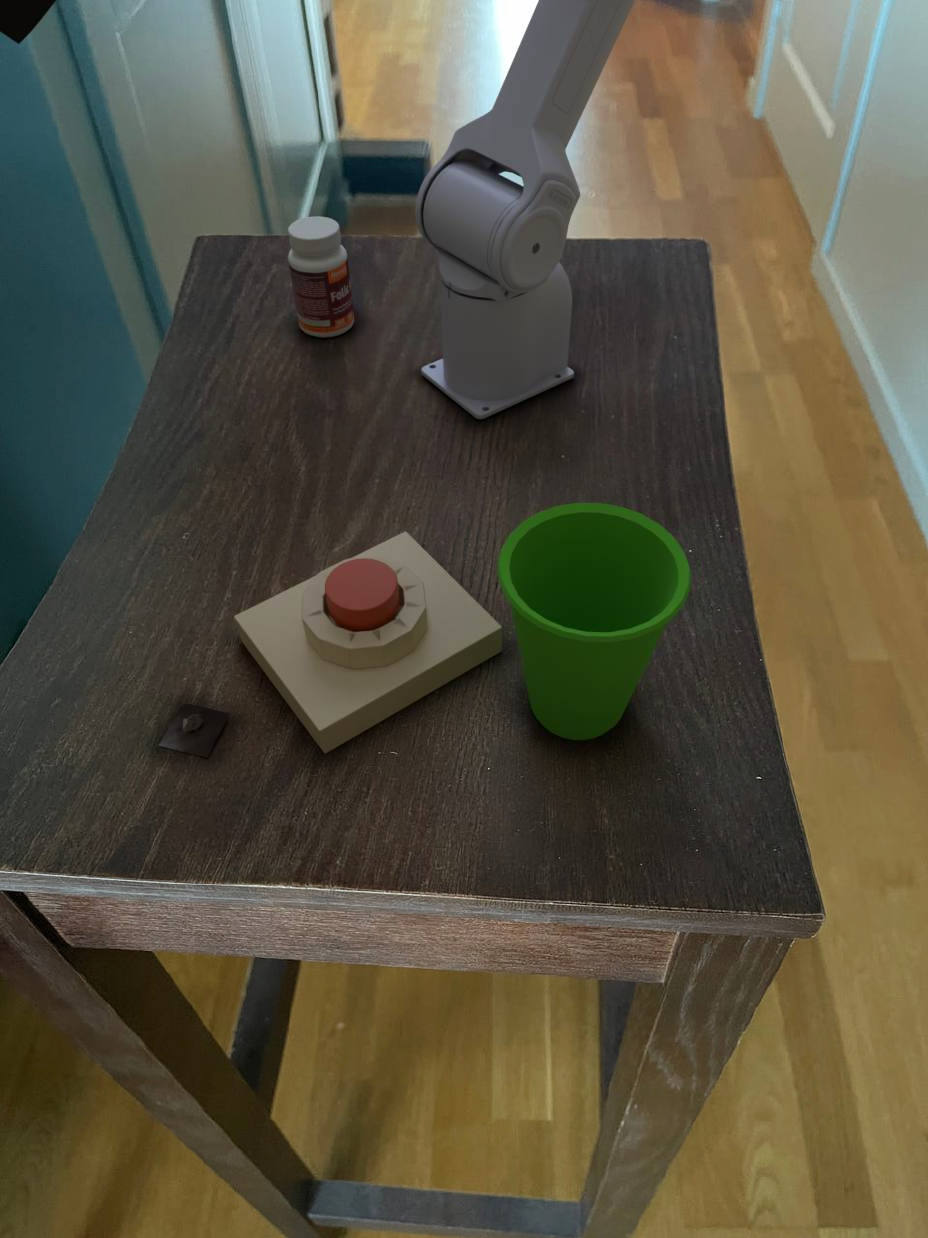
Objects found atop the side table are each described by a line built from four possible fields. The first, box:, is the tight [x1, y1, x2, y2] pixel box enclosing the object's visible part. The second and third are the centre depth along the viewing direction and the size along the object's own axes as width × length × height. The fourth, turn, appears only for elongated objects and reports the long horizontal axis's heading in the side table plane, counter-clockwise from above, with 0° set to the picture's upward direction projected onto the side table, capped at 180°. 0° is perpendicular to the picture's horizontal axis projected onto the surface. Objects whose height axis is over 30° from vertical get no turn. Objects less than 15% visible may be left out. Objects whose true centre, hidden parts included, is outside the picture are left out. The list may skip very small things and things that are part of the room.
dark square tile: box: [158, 703, 230, 758], centre depth 50 cm, size 3×3×1 cm
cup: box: [496, 502, 692, 741], centre depth 47 cm, size 9×9×11 cm
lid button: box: [325, 558, 400, 631], centre depth 51 cm, size 4×4×2 cm
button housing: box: [233, 530, 503, 754], centre depth 53 cm, size 12×10×4 cm
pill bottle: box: [287, 215, 355, 338], centre depth 75 cm, size 5×5×8 cm
